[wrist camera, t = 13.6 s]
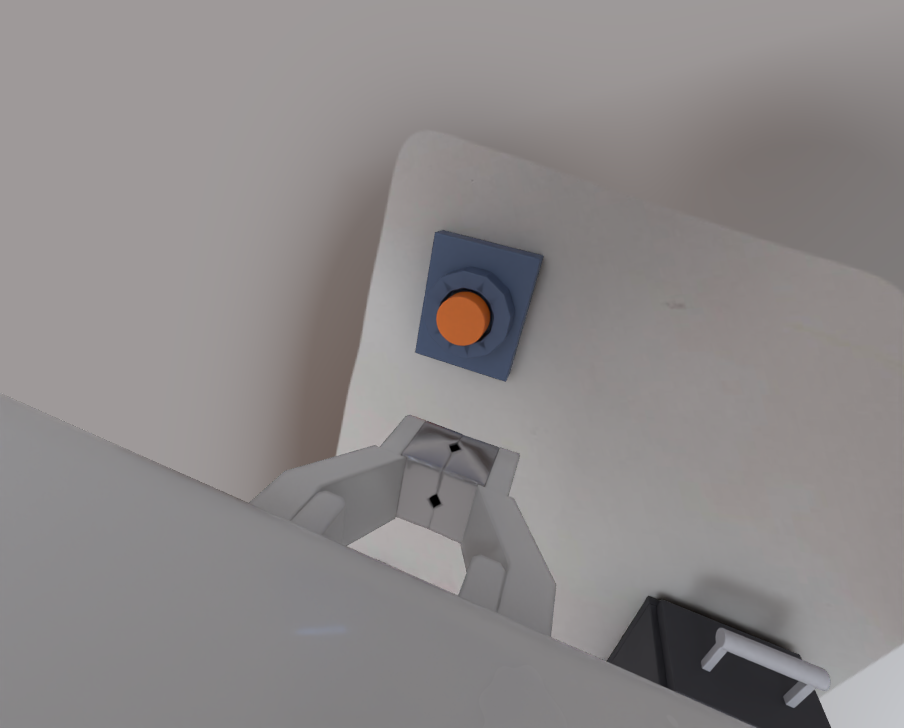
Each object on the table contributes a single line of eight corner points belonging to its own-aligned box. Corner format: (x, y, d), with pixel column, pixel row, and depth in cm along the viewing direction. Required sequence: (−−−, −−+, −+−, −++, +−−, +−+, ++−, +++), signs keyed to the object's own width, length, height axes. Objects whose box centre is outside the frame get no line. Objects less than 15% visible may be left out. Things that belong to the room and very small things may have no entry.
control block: (442, 229, 32) (425, 234, 29) (543, 255, 30) (537, 263, 27) (422, 345, 36) (406, 360, 33) (509, 373, 35) (501, 391, 32)
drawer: (682, 567, 35) (702, 658, 29) (830, 624, 33) (890, 737, 26) (611, 673, 43) (614, 765, 36) (728, 726, 41) (755, 835, 34)
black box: (648, 595, 39) (662, 708, 30) (795, 655, 36) (855, 796, 28) (598, 674, 45) (598, 786, 36) (721, 729, 42) (752, 864, 34)
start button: (448, 285, 30) (440, 290, 28) (495, 298, 29) (489, 305, 28) (440, 330, 32) (432, 337, 30) (484, 344, 31) (478, 352, 29)
